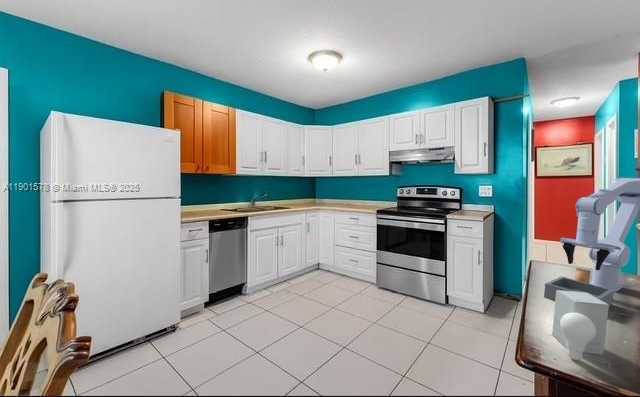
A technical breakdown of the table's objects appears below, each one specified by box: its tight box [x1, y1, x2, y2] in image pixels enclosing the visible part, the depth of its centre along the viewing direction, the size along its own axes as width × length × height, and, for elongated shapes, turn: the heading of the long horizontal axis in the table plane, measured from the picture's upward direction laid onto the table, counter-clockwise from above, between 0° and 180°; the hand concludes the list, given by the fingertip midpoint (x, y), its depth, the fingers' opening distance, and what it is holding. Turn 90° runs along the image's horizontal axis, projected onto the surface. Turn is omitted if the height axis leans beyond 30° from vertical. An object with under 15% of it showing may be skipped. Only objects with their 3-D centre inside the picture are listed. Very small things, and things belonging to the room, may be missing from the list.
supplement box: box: [551, 290, 610, 355], centre depth 71 cm, size 7×7×13 cm
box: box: [543, 276, 615, 308], centre depth 96 cm, size 14×14×5 cm
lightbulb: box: [560, 313, 596, 361], centre depth 65 cm, size 6×6×11 cm
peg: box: [574, 268, 592, 283], centre depth 105 cm, size 4×4×8 cm
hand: (583, 266), depth 104 cm, fingers open, 7 cm apart
